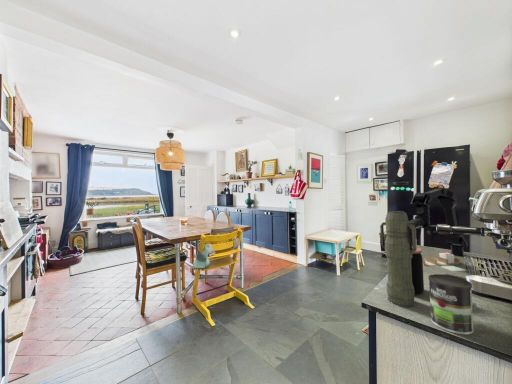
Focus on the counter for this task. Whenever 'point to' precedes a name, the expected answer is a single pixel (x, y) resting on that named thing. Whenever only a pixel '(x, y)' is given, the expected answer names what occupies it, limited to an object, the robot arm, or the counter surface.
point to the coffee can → (451, 303)
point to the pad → (453, 268)
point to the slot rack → (438, 261)
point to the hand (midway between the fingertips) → (424, 241)
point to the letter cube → (447, 257)
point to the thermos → (399, 257)
